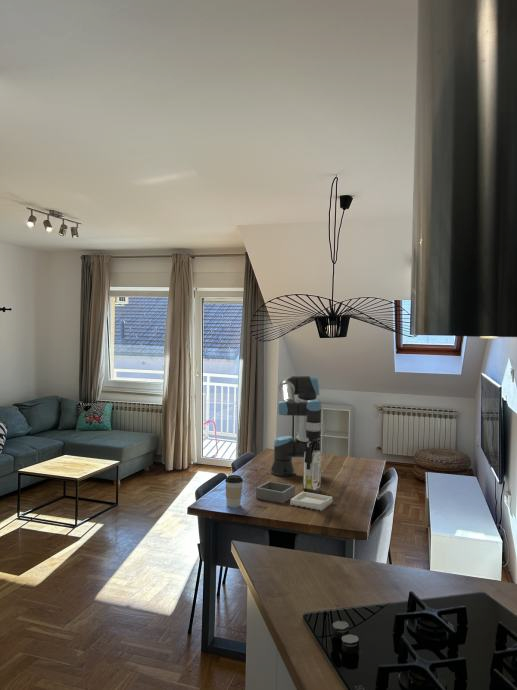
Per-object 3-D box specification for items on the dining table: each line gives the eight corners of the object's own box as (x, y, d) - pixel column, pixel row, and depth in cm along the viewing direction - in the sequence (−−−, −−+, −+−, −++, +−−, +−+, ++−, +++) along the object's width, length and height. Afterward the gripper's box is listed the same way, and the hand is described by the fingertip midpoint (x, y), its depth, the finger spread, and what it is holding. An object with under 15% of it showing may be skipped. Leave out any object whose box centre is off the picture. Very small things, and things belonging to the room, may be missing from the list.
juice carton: (321, 486, 257) (322, 450, 257) (315, 490, 249) (316, 453, 249) (308, 484, 261) (309, 448, 261) (301, 488, 253) (302, 451, 253)
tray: (290, 505, 252) (290, 499, 252) (302, 496, 266) (302, 491, 266) (321, 511, 244) (321, 505, 244) (332, 502, 258) (332, 496, 258)
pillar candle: (300, 491, 276) (301, 465, 276) (305, 486, 285) (306, 461, 285) (317, 494, 272) (318, 467, 272) (321, 489, 282) (322, 463, 281)
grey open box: (255, 497, 262) (256, 487, 262) (268, 490, 276) (269, 481, 276) (282, 503, 255) (283, 492, 255) (294, 495, 268) (294, 485, 268)
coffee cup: (225, 502, 254) (226, 473, 254) (242, 502, 254) (243, 473, 254) (223, 507, 245) (224, 478, 245) (241, 508, 245) (242, 478, 245)
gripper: (312, 434, 244) (311, 479, 244) (327, 428, 263) (326, 470, 263) (298, 432, 247) (297, 477, 247) (314, 426, 266) (313, 468, 266)
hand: (312, 473), depth 255 cm, fingers closed on juice carton, 8 cm apart
